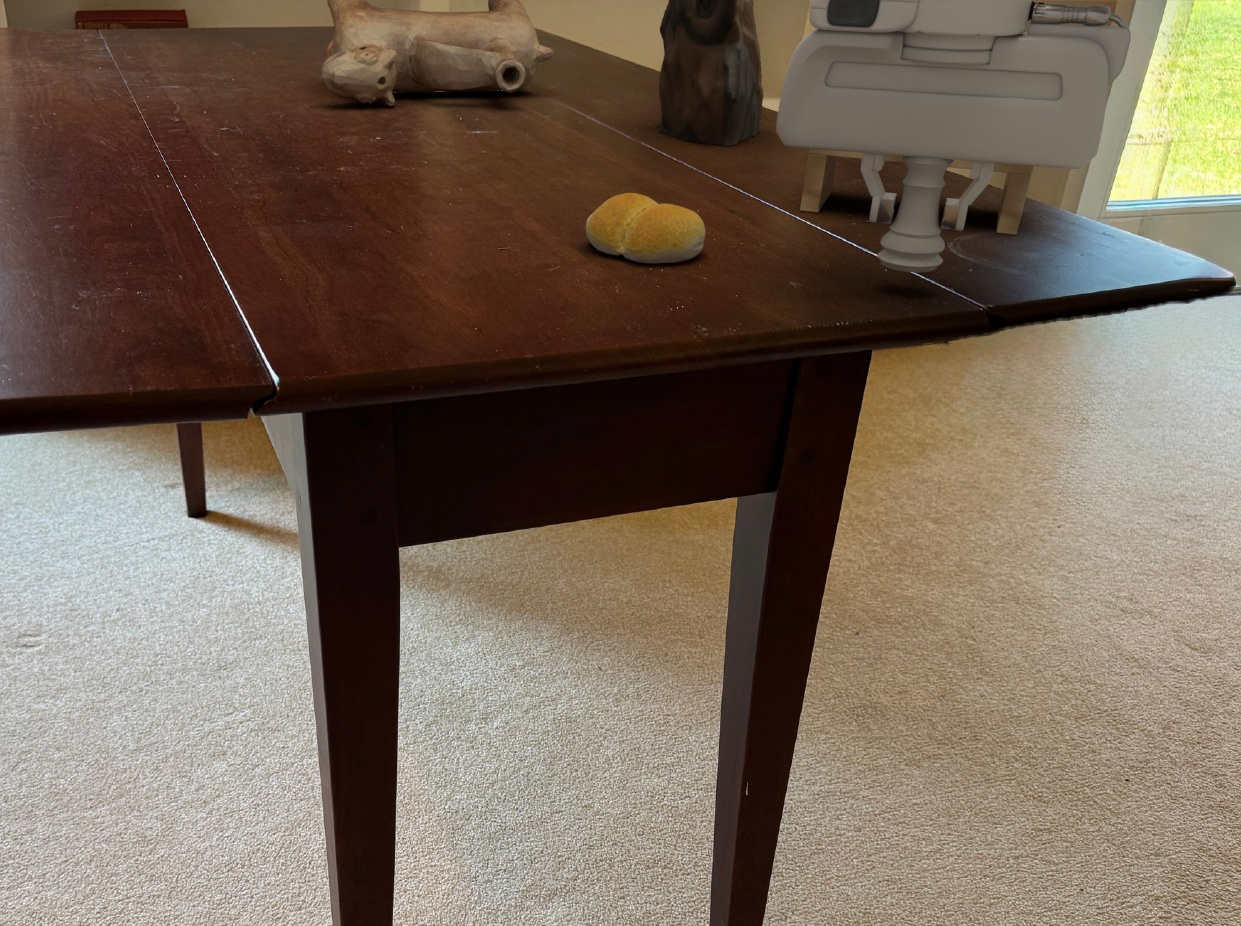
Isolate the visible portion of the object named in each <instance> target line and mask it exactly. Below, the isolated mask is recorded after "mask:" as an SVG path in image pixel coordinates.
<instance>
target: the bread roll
mask: <svg viewBox="0 0 1241 926" xmlns="http://www.w3.org/2000/svg"><path fill="white" fill-rule="evenodd" d="M706 231H707V230H706V227H705V222H704V221H703V219H702V218H701V217H700V215H699V214H698V213H697V212H695V211H694V210H692V209H689V208H686V207H683V206H681V205H677V204H672V203H658V202H657V201H656V200H654V199H653V198H651V197H649V196H647V195H644V194H640V193H636V192H625V193H620V194H617V195H614V196H612V197H610V198H608V199H606V200H605V201H604V202H603V203H601V205H600V206H599V207H597V208H596V209H595V210H594V212H592V213H591V214H590V215H589V216H588V217H587V219H586V223H585V234H586V237H587V240H588V241H589V242H590V244H591V245H592V247H594V248H595V249H596V250H597V251H599V252H601V253H605V254H608V255H612V256H620V255H621V256H623V257H624V258H625V259H627V260H630V261H633V262H636V263H641V264H674V263H681V262H685V261H689V260H691V259H695V257H697V256H698V255H699V254H701V252H702V251H703V248H704V242H705V239H706V233H707V232H706Z"/></svg>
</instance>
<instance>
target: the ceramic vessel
mask: <svg viewBox="0 0 1241 926" xmlns="http://www.w3.org/2000/svg"><path fill="white" fill-rule="evenodd" d="M326 1H327V7H328V8H329V12H330V15H331V18H332V23H333V31H332V32H333V33H332V39H331V41H330V42H329V43H328V44H327V46H326V50H325V54H326V59H325V60H324V62H323V64H322V66H321V69H320V74H321V81H322V83H323V85H324V86H325V87H326V88H327V89H328V91H331V92H332V93H334V94H337V95H339V96H341V97H342V98H347V99H348V98H349V99H350V98H352V99H354V100H356V101H357V102H359V103H361V102H365V103H370V102H373V103H375V102H376V101H382V102H383V103H384V102H387V103H390V104H394V103H395V104H396V100H395V97H394V94H392V92H434V91H435V92H436V91H498V90H499V91H501V90H503V91H505V92H504V93H509V94H511V93H514V92H517V90H518V91H520V90H522V89H523V88H525V87H527V86H528V85H529V84H530V83H531V82H532V81H533V79H534V77H535V76H536V73H537V69H538V64H539V63H542V62H546V61H549V60H550V59H551V58H554V57H555V52H556V50H555V49H554V48H551V47H549V46H545V45H542V44H540V42H539V38H538V34H537V31H536V29H535V27H534V25H533V23H532V20H531V18H530V17H529V14H528V13H527V10H526V8H525V6H524V5H523V3H522V2H521V0H487V4H488V10H485V11H427V10H414V9H413V10H411V9H398V8H397V9H396V8H381V7H377V6H374V5H372V3H369V1H367V0H326ZM519 89H520V90H519ZM365 103H364V104H365Z"/></svg>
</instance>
